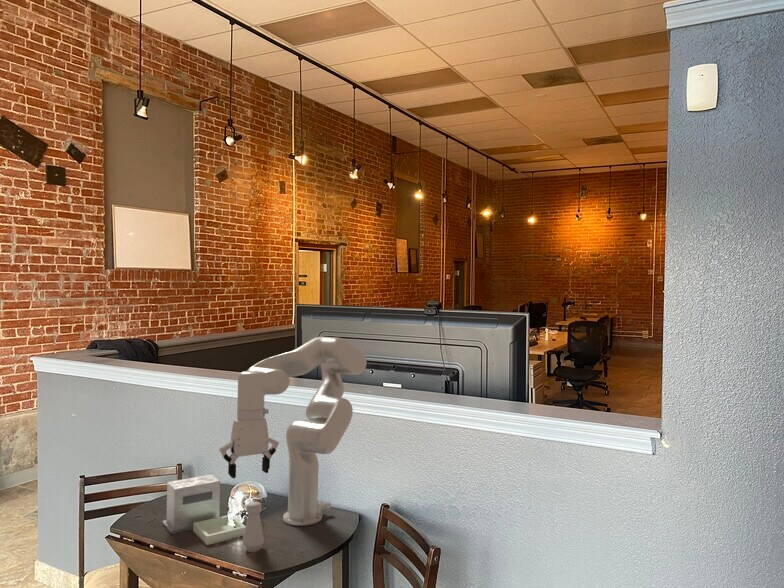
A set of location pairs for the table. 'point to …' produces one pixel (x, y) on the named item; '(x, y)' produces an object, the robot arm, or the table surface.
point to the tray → (218, 530)
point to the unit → (191, 502)
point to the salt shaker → (253, 528)
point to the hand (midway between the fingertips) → (249, 474)
